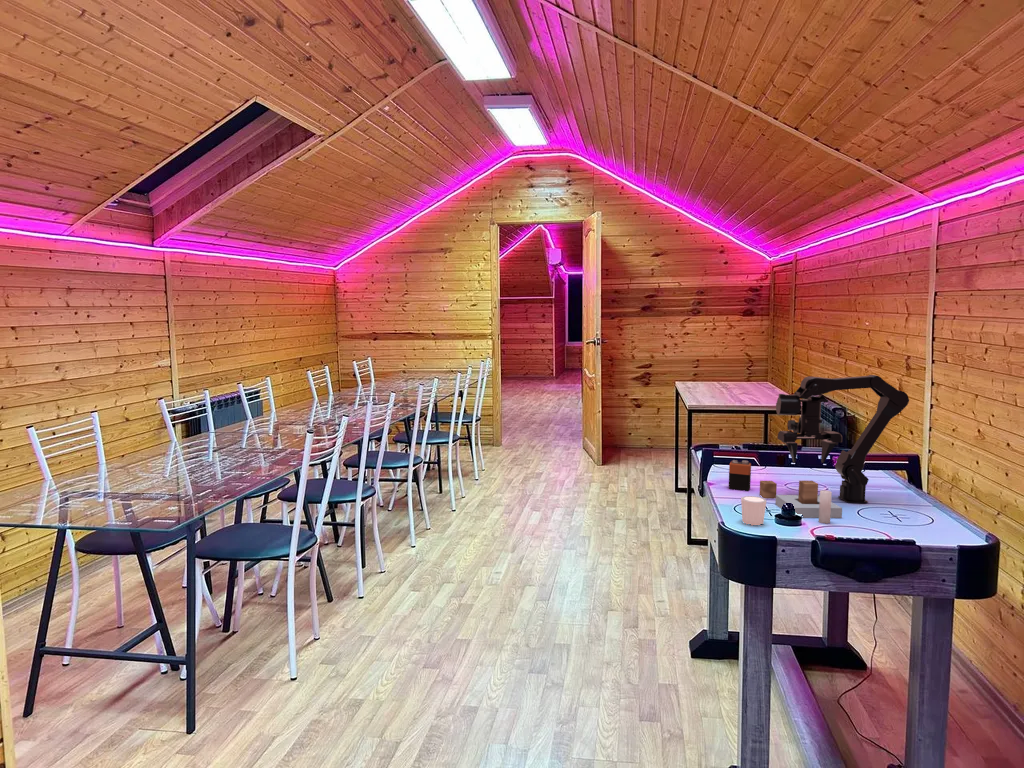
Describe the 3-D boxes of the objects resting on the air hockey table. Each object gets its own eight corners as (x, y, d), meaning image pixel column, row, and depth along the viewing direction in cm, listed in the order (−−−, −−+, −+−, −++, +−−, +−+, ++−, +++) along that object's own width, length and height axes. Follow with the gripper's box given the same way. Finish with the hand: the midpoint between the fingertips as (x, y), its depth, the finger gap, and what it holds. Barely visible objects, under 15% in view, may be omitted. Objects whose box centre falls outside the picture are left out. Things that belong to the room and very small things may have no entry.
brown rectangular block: (816, 512, 194) (818, 483, 193) (803, 512, 194) (805, 483, 193) (810, 509, 198) (812, 480, 197) (797, 508, 198) (799, 480, 197)
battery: (749, 491, 218) (750, 462, 217) (728, 489, 221) (729, 460, 220) (750, 488, 222) (751, 460, 221) (729, 486, 225) (730, 458, 224)
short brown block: (771, 495, 214) (772, 480, 213) (776, 498, 210) (776, 483, 209) (759, 495, 214) (760, 480, 213) (763, 498, 210) (764, 483, 209)
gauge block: (819, 504, 203) (821, 476, 202) (851, 523, 183) (852, 493, 182) (775, 504, 203) (776, 476, 202) (802, 523, 183) (803, 492, 183)
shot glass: (753, 527, 180) (754, 503, 179) (735, 521, 186) (735, 497, 185) (770, 524, 183) (771, 500, 182) (751, 517, 189) (752, 494, 188)
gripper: (827, 412, 215) (825, 457, 216) (772, 411, 215) (770, 457, 217) (844, 417, 204) (841, 465, 205) (785, 416, 204) (783, 464, 206)
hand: (808, 462), depth 208 cm, fingers open, 9 cm apart
